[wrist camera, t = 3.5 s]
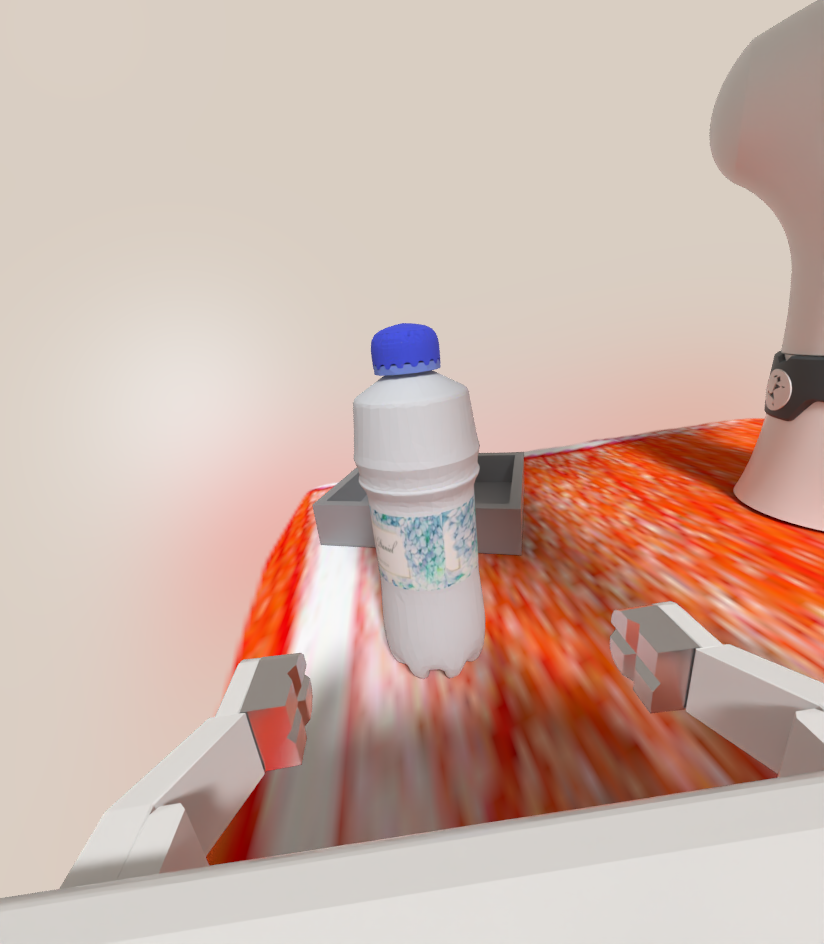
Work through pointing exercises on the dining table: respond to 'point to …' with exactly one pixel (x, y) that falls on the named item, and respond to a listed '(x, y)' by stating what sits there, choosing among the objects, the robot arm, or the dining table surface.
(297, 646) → the dining table surface
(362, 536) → the serving tray
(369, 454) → the bottle
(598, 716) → the dining table surface
